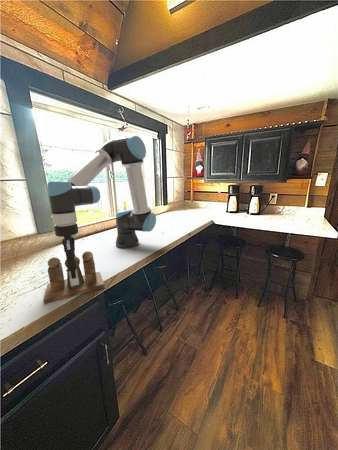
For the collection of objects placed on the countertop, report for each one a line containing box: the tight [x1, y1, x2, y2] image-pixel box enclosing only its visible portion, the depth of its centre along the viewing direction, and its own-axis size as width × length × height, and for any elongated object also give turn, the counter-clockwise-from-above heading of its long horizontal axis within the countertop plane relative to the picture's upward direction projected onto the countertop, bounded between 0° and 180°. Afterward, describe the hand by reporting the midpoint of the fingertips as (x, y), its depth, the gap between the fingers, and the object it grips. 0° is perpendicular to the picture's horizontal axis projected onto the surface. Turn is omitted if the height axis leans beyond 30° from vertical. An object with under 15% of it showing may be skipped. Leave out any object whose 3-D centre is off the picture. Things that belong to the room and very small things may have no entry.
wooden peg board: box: [43, 250, 105, 304], centre depth 71 cm, size 20×12×14 cm, turn 118°
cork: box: [64, 256, 84, 288], centre depth 71 cm, size 6×6×11 cm
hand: (75, 280), depth 72 cm, fingers open, 6 cm apart
